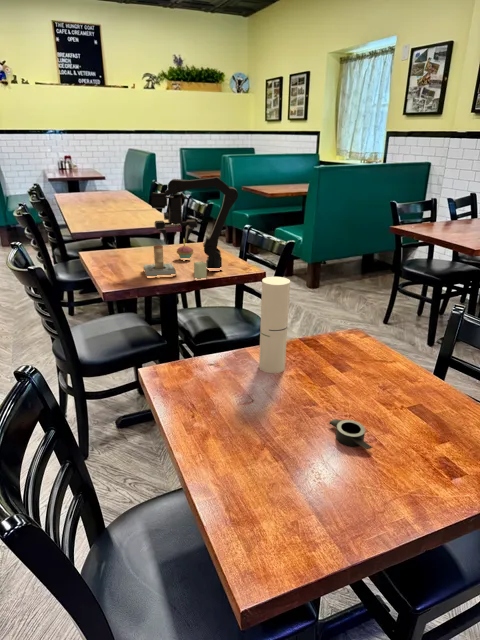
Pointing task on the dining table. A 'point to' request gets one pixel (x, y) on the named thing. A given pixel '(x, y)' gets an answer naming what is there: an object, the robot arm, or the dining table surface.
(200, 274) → the square bit
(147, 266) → the bore block
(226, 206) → the robot arm
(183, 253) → the cupcake
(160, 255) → the birch dowel
